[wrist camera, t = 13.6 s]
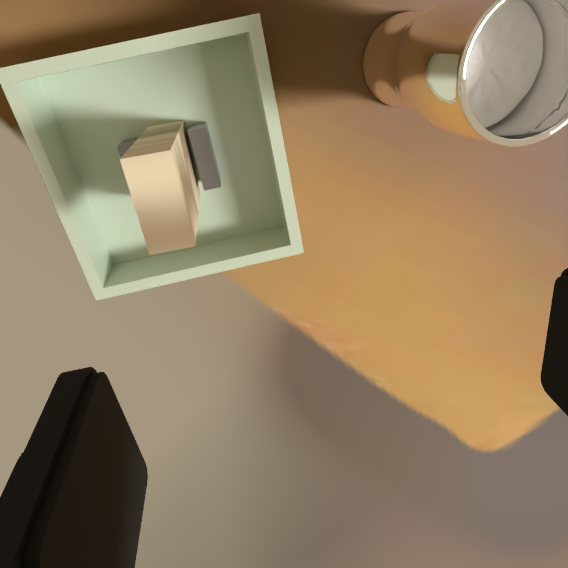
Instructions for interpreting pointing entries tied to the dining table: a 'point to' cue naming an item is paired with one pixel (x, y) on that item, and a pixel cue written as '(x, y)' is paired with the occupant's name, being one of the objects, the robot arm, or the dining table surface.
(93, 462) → the robot arm
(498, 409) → the dining table surface
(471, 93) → the metal tumbler
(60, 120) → the pale green prong tray
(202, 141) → the wick clip
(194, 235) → the upright wooden plank
